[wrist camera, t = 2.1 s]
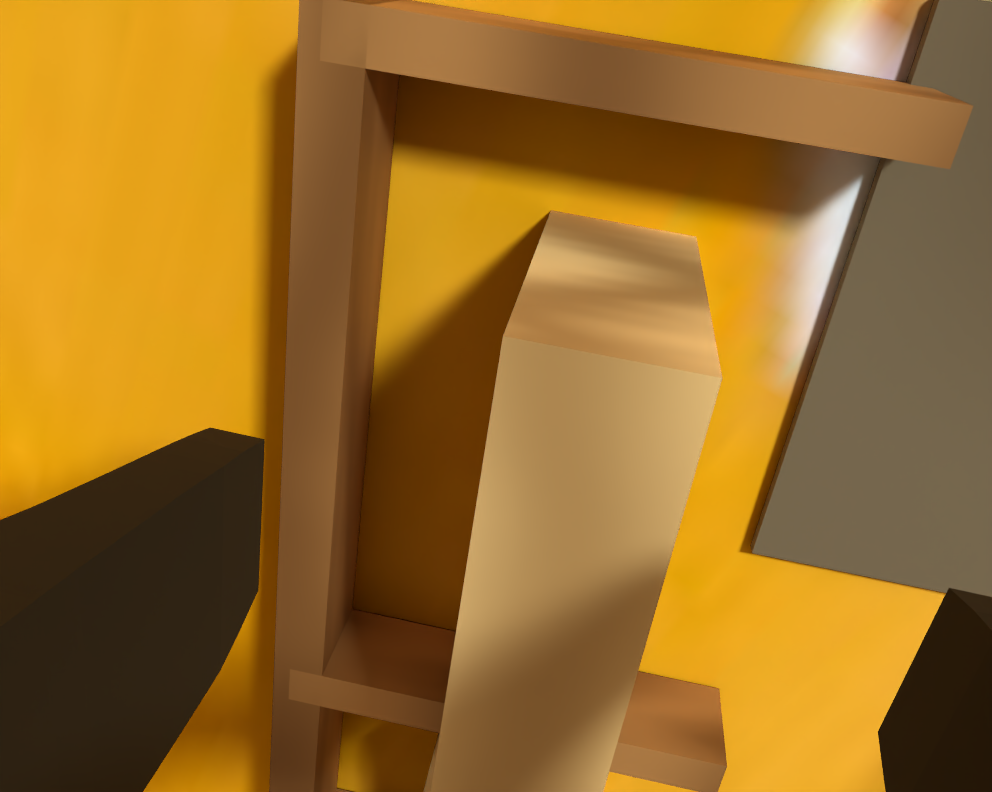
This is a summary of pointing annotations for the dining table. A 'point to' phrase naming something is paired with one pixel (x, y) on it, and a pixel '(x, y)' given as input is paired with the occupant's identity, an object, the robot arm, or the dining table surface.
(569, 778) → the tan wooden block
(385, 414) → the dining table surface
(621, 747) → the rack
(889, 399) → the mat
